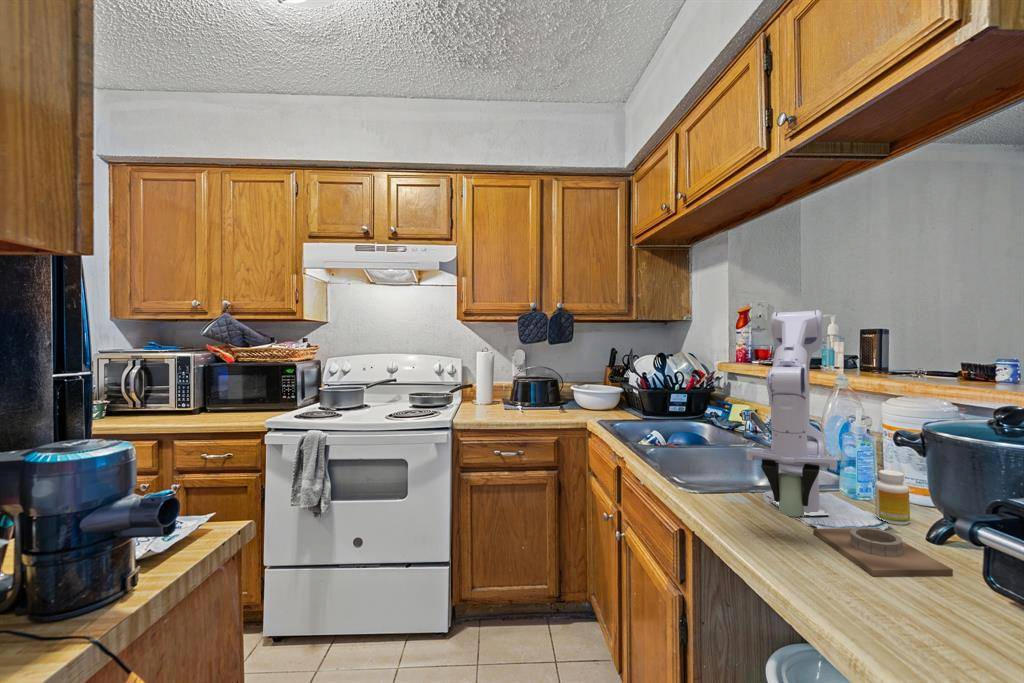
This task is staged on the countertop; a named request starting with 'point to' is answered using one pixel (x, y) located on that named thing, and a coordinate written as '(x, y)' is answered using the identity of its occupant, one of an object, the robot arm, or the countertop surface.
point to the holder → (881, 552)
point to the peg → (791, 494)
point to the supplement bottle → (892, 498)
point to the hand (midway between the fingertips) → (791, 502)
